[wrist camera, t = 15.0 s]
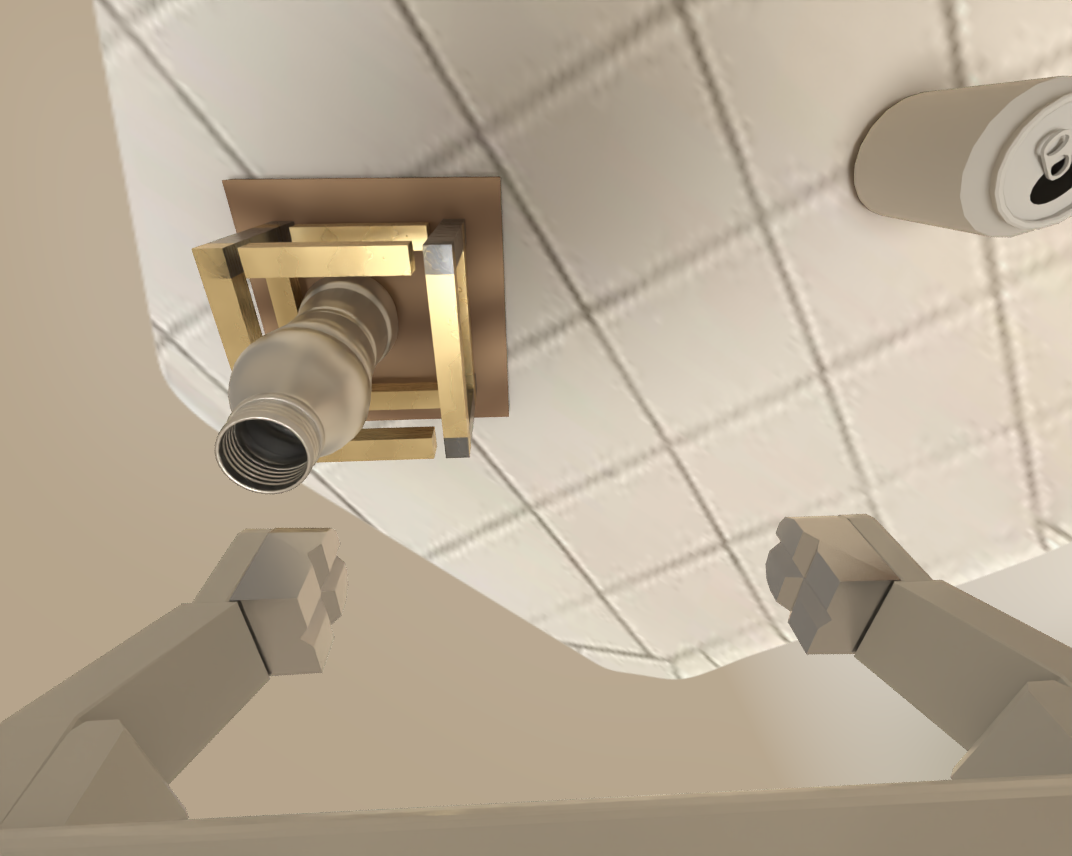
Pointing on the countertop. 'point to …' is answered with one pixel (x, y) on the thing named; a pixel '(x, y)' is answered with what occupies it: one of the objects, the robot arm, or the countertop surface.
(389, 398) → the frame
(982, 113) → the can
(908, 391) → the countertop surface
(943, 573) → the countertop surface
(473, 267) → the walnut board
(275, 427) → the plastic bottle
